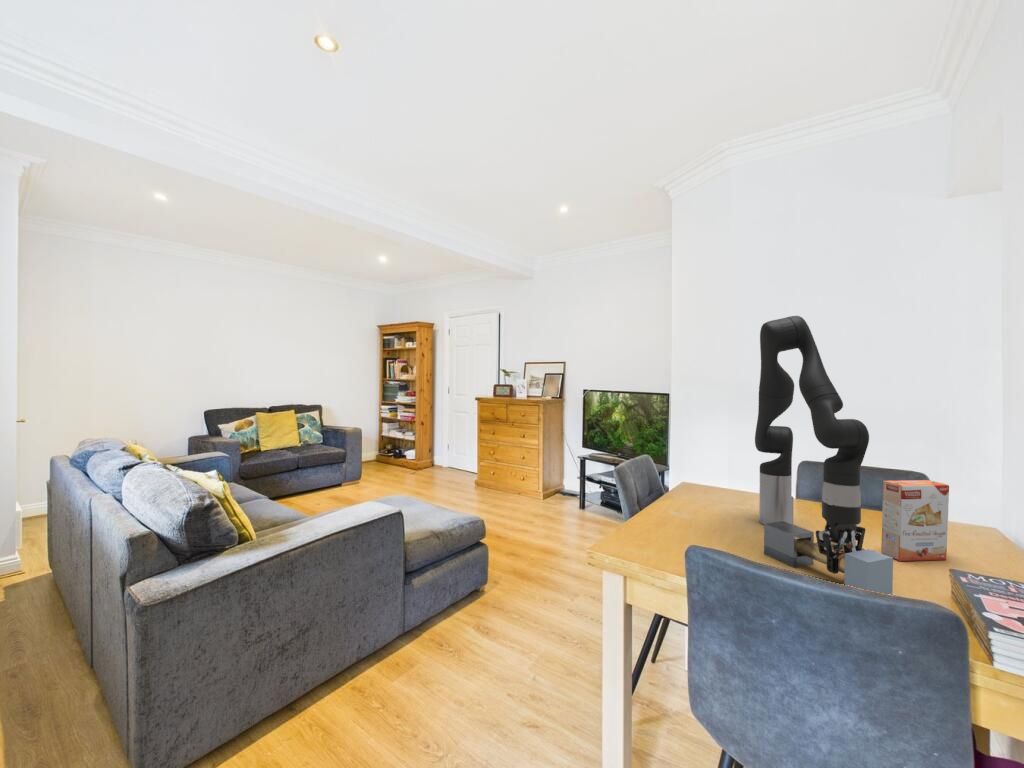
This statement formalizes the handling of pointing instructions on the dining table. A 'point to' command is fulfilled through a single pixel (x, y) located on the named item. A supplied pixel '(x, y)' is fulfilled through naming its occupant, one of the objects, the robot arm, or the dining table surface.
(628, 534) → the dining table surface
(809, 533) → the sleeve
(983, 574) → the dining table surface
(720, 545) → the dining table surface
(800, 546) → the rod
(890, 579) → the socket
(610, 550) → the dining table surface
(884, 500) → the cracker box
